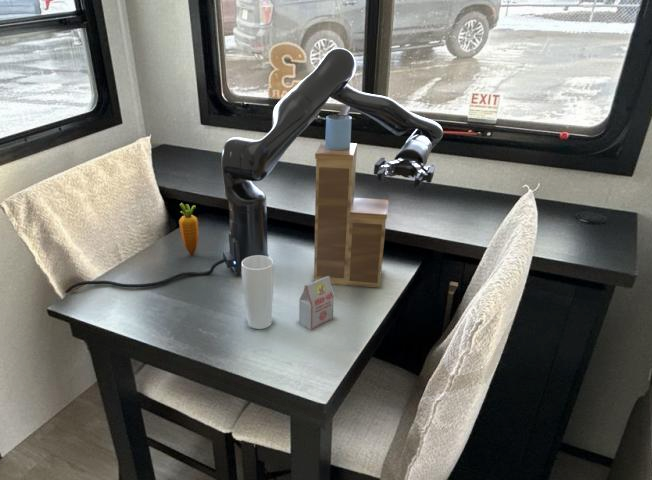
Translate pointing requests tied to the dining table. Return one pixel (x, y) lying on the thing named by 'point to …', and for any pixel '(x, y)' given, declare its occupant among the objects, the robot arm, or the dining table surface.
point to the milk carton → (316, 303)
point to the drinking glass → (258, 290)
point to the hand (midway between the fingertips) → (397, 180)
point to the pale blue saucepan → (338, 130)
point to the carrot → (189, 229)
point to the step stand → (346, 223)
